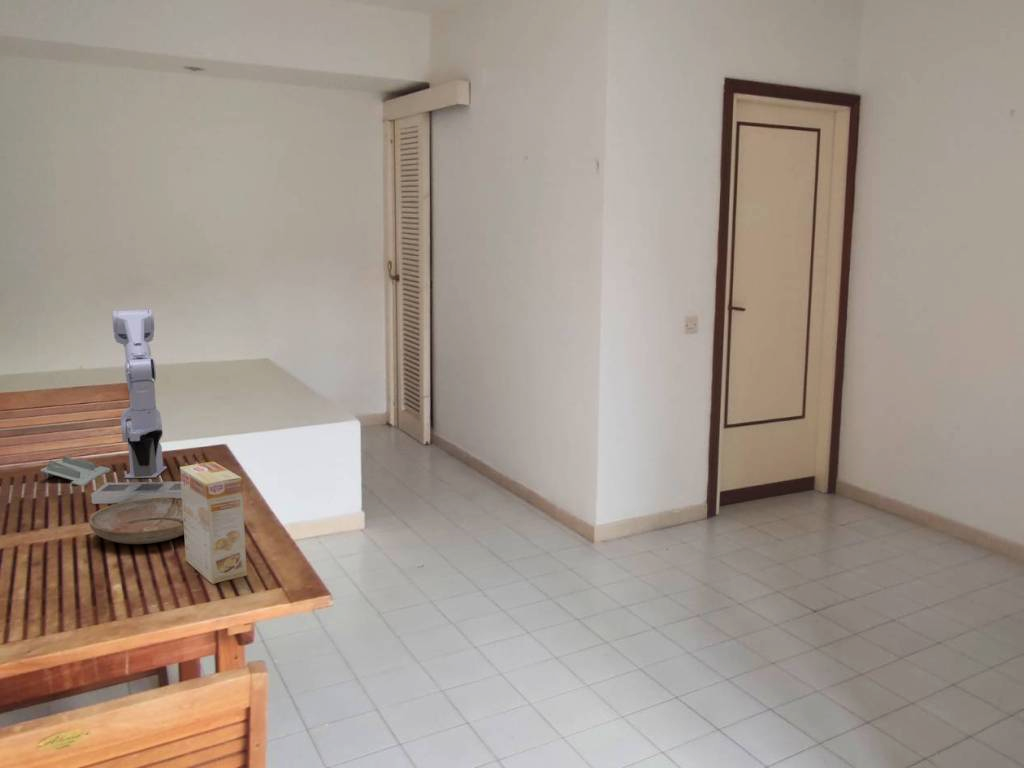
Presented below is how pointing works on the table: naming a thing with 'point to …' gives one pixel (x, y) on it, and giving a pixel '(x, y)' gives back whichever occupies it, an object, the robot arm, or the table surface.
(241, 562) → the coffeecake box
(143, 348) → the robot arm
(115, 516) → the ceramic bowl
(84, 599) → the table surface
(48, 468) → the metal bracket
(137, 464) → the square peg
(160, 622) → the table surface
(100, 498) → the hole rail
